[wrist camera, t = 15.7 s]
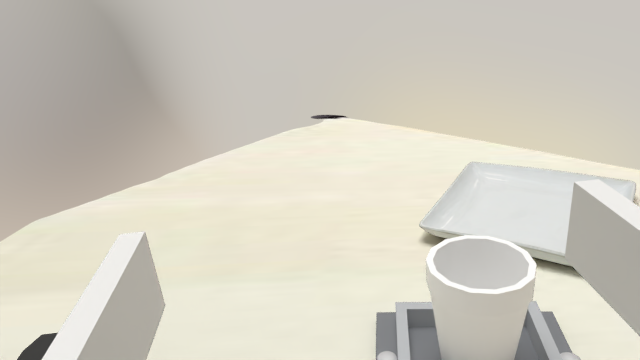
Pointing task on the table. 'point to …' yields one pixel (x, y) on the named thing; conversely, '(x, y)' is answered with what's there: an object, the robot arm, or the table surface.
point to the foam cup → (479, 296)
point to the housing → (422, 341)
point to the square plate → (513, 206)
